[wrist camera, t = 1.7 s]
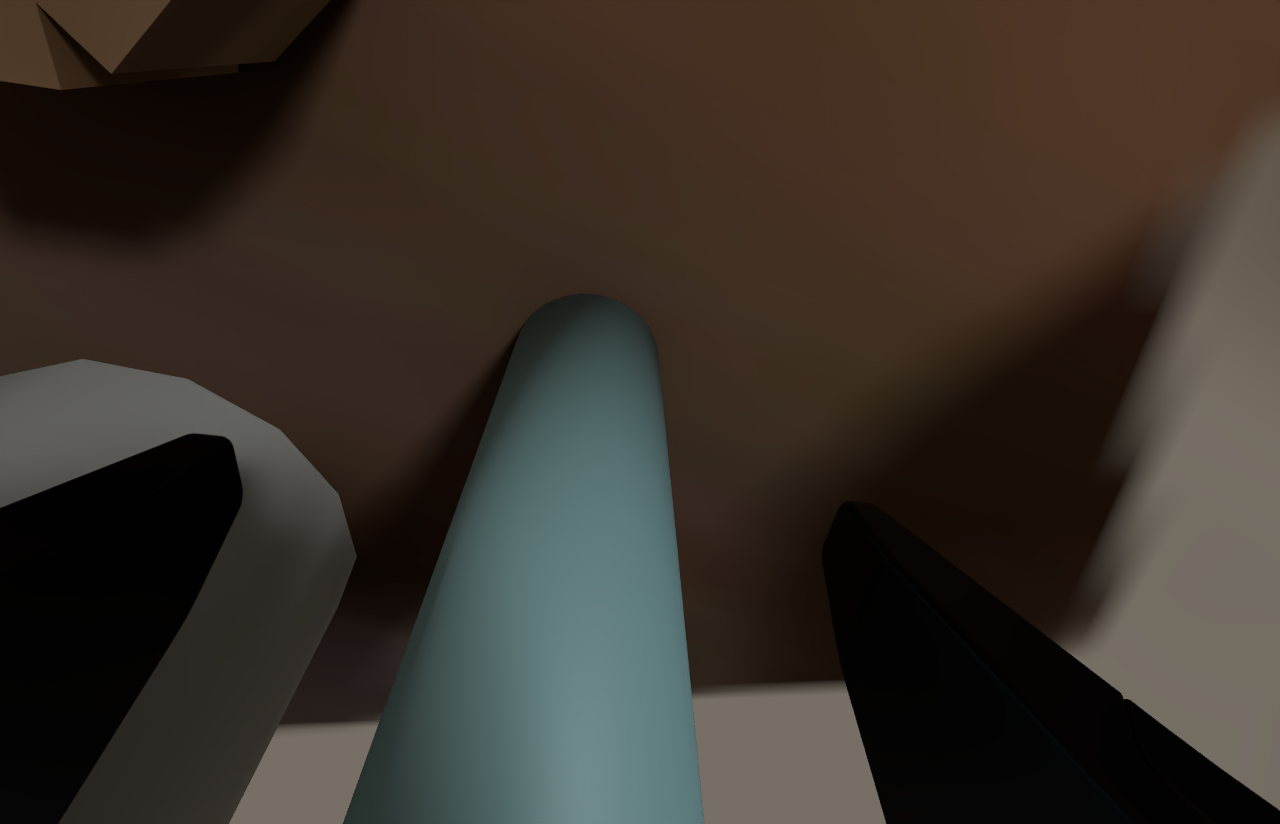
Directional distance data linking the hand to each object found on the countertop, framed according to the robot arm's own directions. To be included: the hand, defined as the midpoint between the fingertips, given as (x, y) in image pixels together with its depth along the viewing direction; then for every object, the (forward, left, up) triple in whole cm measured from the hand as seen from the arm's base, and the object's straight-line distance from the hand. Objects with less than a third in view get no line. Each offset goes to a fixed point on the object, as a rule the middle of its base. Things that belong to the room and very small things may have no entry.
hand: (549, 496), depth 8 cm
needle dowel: (0, 0, -5) cm, 5 cm away
